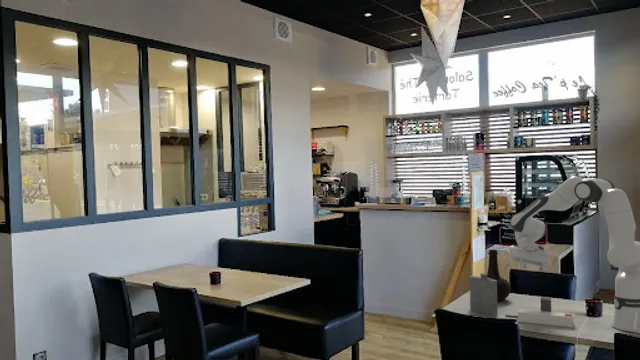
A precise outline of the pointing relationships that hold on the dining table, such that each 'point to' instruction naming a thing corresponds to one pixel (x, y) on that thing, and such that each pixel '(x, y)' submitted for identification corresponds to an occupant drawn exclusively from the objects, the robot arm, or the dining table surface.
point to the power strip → (544, 317)
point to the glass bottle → (497, 276)
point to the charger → (546, 304)
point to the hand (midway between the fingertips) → (533, 268)
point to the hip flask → (483, 294)
